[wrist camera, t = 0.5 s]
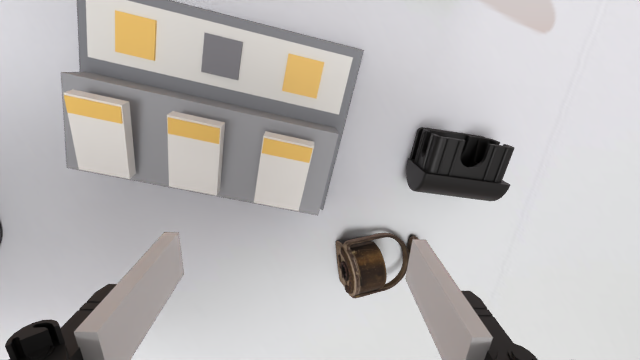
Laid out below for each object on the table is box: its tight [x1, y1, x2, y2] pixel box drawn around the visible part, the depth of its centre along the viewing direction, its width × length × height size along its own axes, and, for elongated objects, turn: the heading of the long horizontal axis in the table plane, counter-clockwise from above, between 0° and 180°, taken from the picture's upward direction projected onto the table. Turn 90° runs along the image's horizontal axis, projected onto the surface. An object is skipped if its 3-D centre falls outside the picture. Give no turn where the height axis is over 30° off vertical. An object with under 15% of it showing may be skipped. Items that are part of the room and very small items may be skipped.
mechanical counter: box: [336, 233, 419, 298], centre depth 40 cm, size 7×13×10 cm
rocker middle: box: [167, 111, 225, 196], centre depth 30 cm, size 5×8×1 cm, turn 167°
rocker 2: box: [254, 131, 314, 211], centre depth 31 cm, size 5×8×1 cm, turn 167°
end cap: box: [406, 127, 514, 201], centre depth 35 cm, size 10×7×7 cm
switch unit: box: [61, 0, 364, 215], centre depth 33 cm, size 30×20×5 cm, turn 77°
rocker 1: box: [63, 89, 136, 179], centre depth 29 cm, size 5×8×1 cm, turn 167°
